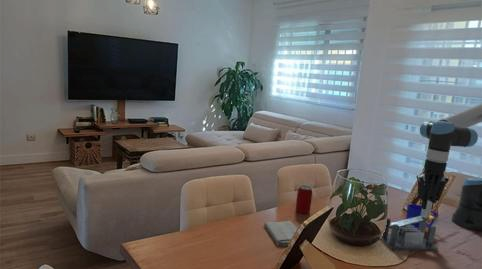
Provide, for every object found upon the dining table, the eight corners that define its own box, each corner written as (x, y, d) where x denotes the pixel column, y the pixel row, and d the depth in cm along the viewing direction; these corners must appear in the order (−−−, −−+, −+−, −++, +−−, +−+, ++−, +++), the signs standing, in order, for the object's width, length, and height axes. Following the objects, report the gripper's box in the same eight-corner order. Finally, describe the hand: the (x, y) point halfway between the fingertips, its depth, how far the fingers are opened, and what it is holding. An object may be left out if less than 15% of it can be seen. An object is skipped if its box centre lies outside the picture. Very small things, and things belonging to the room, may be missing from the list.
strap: (428, 215, 145) (428, 212, 145) (434, 219, 141) (434, 216, 141) (386, 226, 143) (386, 223, 143) (392, 230, 139) (391, 227, 139)
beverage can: (311, 211, 168) (314, 187, 166) (306, 215, 162) (309, 190, 160) (298, 207, 171) (301, 184, 169) (293, 211, 166) (296, 187, 164)
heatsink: (418, 236, 151) (421, 216, 149) (437, 250, 139) (442, 229, 138) (375, 235, 148) (378, 215, 146) (391, 250, 136) (395, 228, 134)
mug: (435, 235, 154) (439, 213, 152) (406, 230, 156) (410, 209, 154) (429, 227, 162) (433, 207, 160) (401, 223, 164) (405, 202, 162)
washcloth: (277, 247, 131) (278, 240, 130) (262, 226, 148) (263, 219, 147) (306, 246, 134) (307, 238, 133) (288, 225, 151) (289, 218, 150)
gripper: (444, 158, 143) (433, 213, 147) (414, 156, 141) (404, 212, 145) (458, 163, 136) (446, 220, 140) (427, 161, 134) (415, 219, 138)
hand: (425, 216), depth 142 cm, fingers closed
